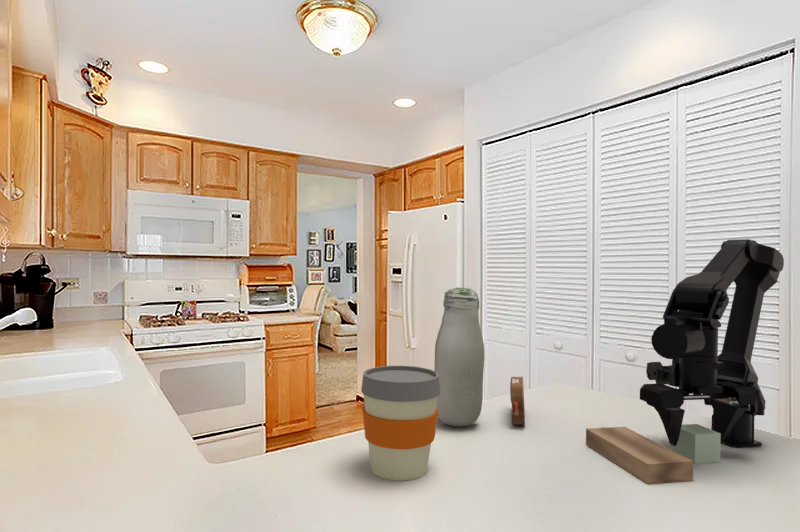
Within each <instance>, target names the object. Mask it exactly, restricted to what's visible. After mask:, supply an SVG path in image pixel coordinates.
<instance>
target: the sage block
mask: <svg viewBox="0 0 800 532" xmlns="http://www.w3.org/2000/svg"><path fill="white" fill-rule="evenodd" d="M721 444H722V443H721V433H718V432H716V431H713V430H711V428H708V427H705V426H703V425H700V424H697V423H691V424H688V423H687V424H682V426H681V431H680V435H679V440H678V442H677V445H676V446H673V445H671V450H672V451H674V452H676V453H678V454H680V455H682V456H684V457H686V458H688V459H690V460H692V461H693V465H704V464H707V465H708V464H718V463H721Z"/></svg>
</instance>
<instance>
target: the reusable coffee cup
mask: <svg viewBox="0 0 800 532" xmlns="http://www.w3.org/2000/svg"><path fill="white" fill-rule="evenodd" d="M361 381H362V383H361V387H360V388H361V393H362V394H363V402H364V403H363V404H364V406H362V409H361V410H362V417H363V428H364V429H363V430H364V437H365V439H366V441H367V442H368V443H367V444H368V451H369V462H370V469H371V472H372V473H373V474H374V475H376V476H377V477H379V478H382V479H385V480H389V481H390V480H391V481H401V482H402V481H411V480H415V479H419V478H421V477H423V476H425V474H427V471H428V467H429V460H430V452H431V446H432V443H433V442H434V440H435V437H436V432H437V431H436V430H437V424H438V423H437V422H438V409H437V408H436V406H437V399H438V396H439V395H440V383H439V374H438V373H437V372H436V371H434V370H433V369H432V368H431V369H430V368H426V367H421V366H420V367H419V366H412V365H411V366H410V365H382V366H376V367H371V368H370V367H369V369H366V370H364V371H363V372H362V380H361Z"/></svg>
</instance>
